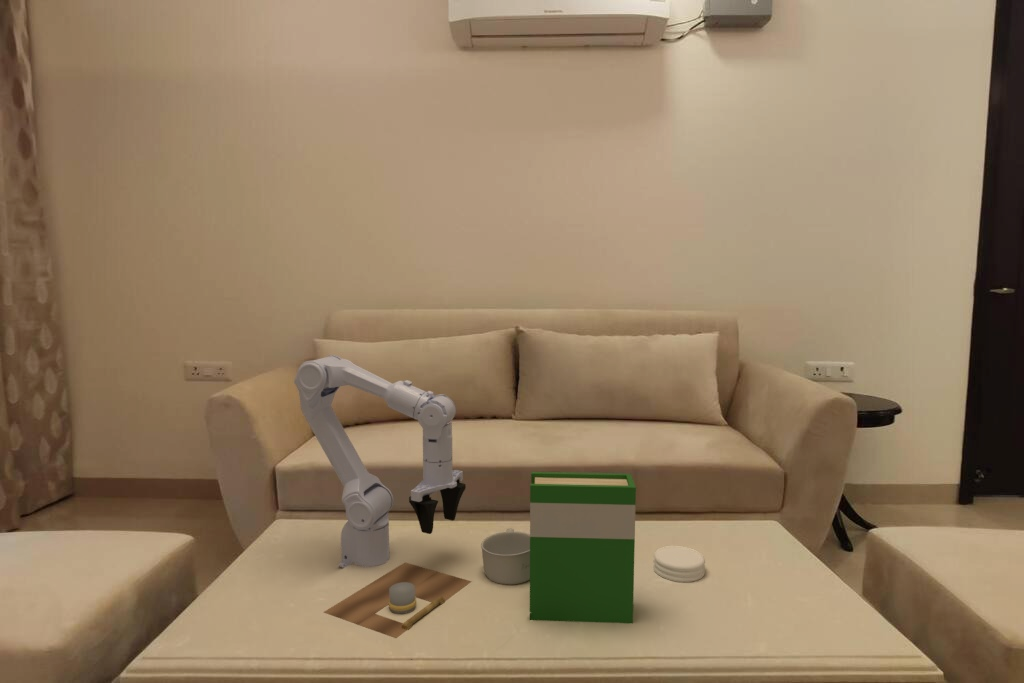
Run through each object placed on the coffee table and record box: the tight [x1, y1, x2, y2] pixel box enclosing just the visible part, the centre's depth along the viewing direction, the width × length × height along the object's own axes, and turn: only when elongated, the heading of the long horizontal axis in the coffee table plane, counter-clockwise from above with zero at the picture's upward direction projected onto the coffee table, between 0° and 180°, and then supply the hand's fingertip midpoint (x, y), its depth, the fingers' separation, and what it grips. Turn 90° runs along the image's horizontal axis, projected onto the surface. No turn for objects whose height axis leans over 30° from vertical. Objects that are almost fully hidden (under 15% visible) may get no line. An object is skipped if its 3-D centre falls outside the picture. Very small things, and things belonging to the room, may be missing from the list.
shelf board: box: [323, 562, 472, 639], centre depth 118 cm, size 16×22×2 cm
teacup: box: [480, 527, 530, 586], centre depth 128 cm, size 14×11×8 cm
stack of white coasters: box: [653, 545, 706, 583], centre depth 131 cm, size 10×10×4 cm
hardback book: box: [529, 471, 637, 624], centre depth 115 cm, size 18×7×24 cm, turn 87°
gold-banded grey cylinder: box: [388, 582, 417, 615], centre depth 114 cm, size 5×5×5 cm
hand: (438, 525), depth 129 cm, fingers open, 7 cm apart
